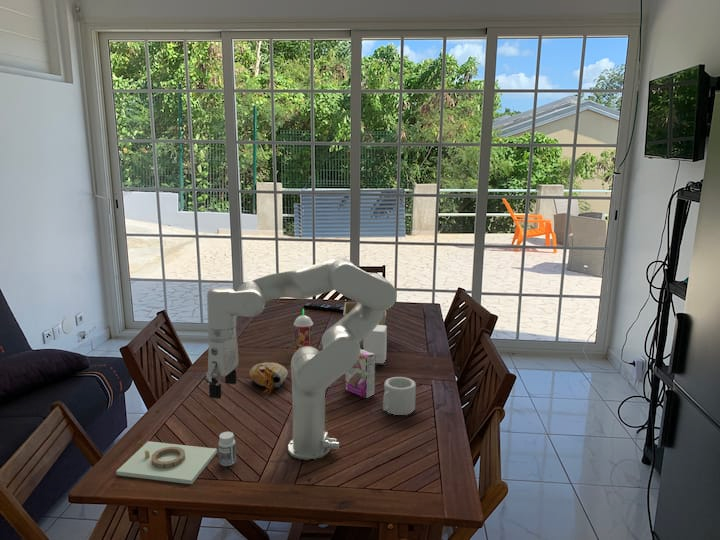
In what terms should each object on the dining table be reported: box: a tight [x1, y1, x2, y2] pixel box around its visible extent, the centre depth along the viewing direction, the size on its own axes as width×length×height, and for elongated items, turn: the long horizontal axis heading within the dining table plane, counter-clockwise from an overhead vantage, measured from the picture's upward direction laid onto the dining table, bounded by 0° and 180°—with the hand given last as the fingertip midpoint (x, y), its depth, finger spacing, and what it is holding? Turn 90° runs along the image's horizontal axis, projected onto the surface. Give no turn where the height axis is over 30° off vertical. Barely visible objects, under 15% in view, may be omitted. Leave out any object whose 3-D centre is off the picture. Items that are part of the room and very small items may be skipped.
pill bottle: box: [217, 431, 237, 467], centre depth 156 cm, size 5×5×8 cm
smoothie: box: [293, 308, 314, 352], centre depth 239 cm, size 8×8×20 cm
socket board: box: [116, 440, 218, 485], centre depth 156 cm, size 22×16×3 cm
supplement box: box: [362, 325, 388, 363], centre depth 231 cm, size 9×9×15 cm
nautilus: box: [248, 361, 289, 396], centre depth 206 cm, size 8×22×15 cm
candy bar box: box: [344, 348, 376, 399], centre depth 201 cm, size 11×5×16 cm, turn 47°
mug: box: [382, 376, 417, 416], centre depth 188 cm, size 14×11×10 cm
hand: (223, 390), depth 154 cm, fingers open, 9 cm apart
